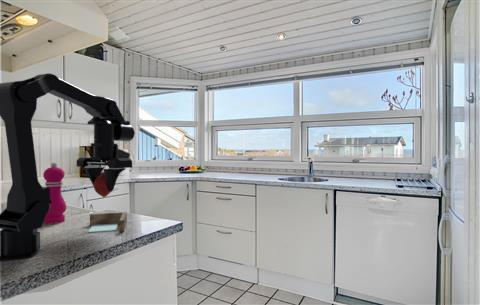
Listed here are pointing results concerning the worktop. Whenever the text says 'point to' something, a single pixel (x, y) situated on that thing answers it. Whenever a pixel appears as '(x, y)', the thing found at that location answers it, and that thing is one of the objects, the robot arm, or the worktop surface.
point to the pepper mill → (55, 194)
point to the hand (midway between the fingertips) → (104, 190)
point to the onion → (101, 185)
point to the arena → (109, 219)
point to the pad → (103, 228)
